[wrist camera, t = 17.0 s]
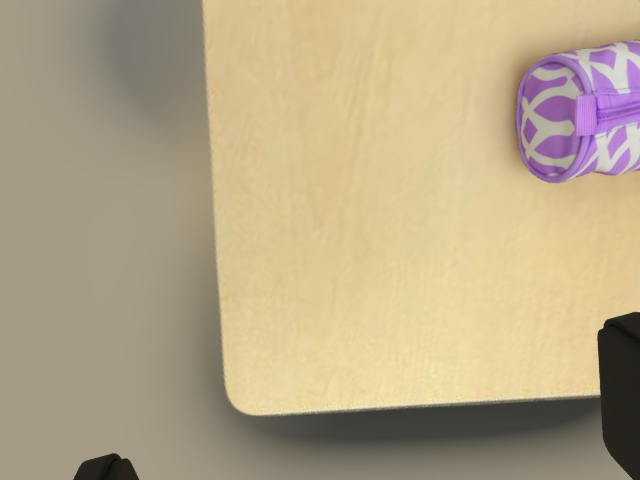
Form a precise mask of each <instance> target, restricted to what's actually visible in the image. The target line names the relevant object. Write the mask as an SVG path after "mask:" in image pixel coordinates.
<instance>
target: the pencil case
mask: <svg viewBox="0 0 640 480" xmlns="http://www.w3.org/2000/svg"><path fill="white" fill-rule="evenodd" d="M516 128H517V134H518V138H519V149H520V153H521V157H522V159H523V162H524V163H525V165H526V167H527V168H528V169H529V170H530V171H531V172H532V173H533V174H534V175H535V176H536V177H538V178H539V179H541V180H543V181H546V182H549V183H563V182H566V181H568V180H571V179H573V178H574V177H579V176H582V175H585V174H587V173H590V172H596V173H601V174H605V175H622V174H625V173H628V172H631V171H639V170H640V40H634V41H625V42H617V43H611V44H608V45H604V46H600V47H594V48H585V49H580V50H576V51H568V52H564V53H556V54H552V55H548V56H546V57H544V58H542V59H540V60H539V61H537V62H536V63H534V64H533V65H532V66H531V67H530V68H529V69H528V70H527V71H526V73H525V74H524V76H523V78H522V80H521V83H520V86H519V90H518V96H517V108H516Z"/></svg>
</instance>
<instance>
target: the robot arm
mask: <svg viewBox="0 0 640 480" xmlns="http://www.w3.org/2000/svg"><path fill="white" fill-rule="evenodd" d="M598 356H599V374H600V393H601V411H602V430H603V440H604V443H605V446H606V447H607V450H608V451H609V453H610V455H611V456H612V457H613V458H614V459H615V460H616V462H617V463H618V464H619V465H620V466H621V467H622V468H623V469H624V470H625V471H626V472H627V474H628V475H629V476H630V477H631V478H632V479H633V480H640V312H633V313H629V314H625V315H622V316H618V317H614V318H611V319H608V320H606V321H605V323H604V327H603V329H601V330H599V332H598ZM73 480H139V478H138V476H137V474H136V472H135V470H134V468H133V466H132V464H131V462H130V460H128V459H121V458H120V456H119V455H117V454H114V453H113V454H109V455H106V456H102V457H98V458H94V459H91V460H87V461H85V462H83V463H82V464H81V466H80V467H79V469H78V471H77V473H76V475H75V477H74V479H73Z"/></svg>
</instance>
